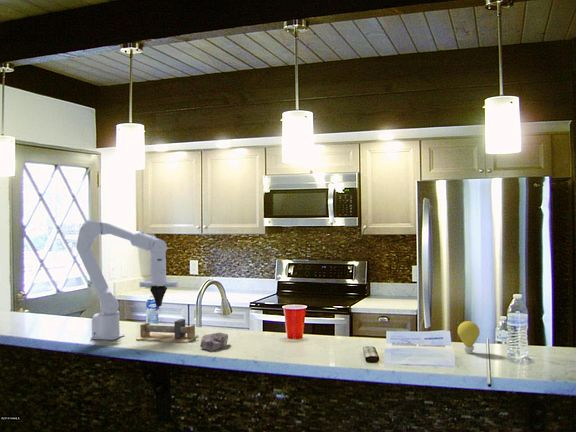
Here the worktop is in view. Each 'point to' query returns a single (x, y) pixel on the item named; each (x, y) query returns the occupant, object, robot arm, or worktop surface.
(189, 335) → the pipe rig
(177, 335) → the collar
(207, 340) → the rock
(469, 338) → the light bulb
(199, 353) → the worktop surface
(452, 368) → the worktop surface
